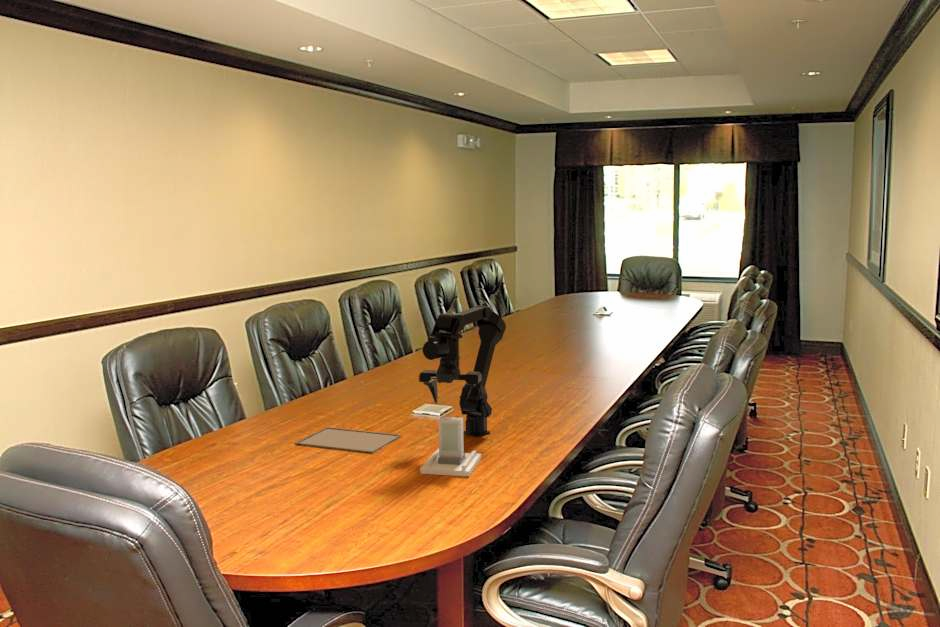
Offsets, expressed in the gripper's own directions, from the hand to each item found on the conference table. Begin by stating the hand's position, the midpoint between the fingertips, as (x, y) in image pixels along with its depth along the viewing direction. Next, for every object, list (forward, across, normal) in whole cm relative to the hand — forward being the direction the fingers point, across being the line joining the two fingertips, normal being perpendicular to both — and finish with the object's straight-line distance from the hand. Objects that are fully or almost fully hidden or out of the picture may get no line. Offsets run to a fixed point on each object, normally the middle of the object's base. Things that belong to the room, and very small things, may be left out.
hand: (450, 404), depth 258 cm
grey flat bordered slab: (+14, -33, -1) cm, 36 cm away
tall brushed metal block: (+12, +5, -20) cm, 24 cm away
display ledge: (+13, +5, -20) cm, 24 cm away
